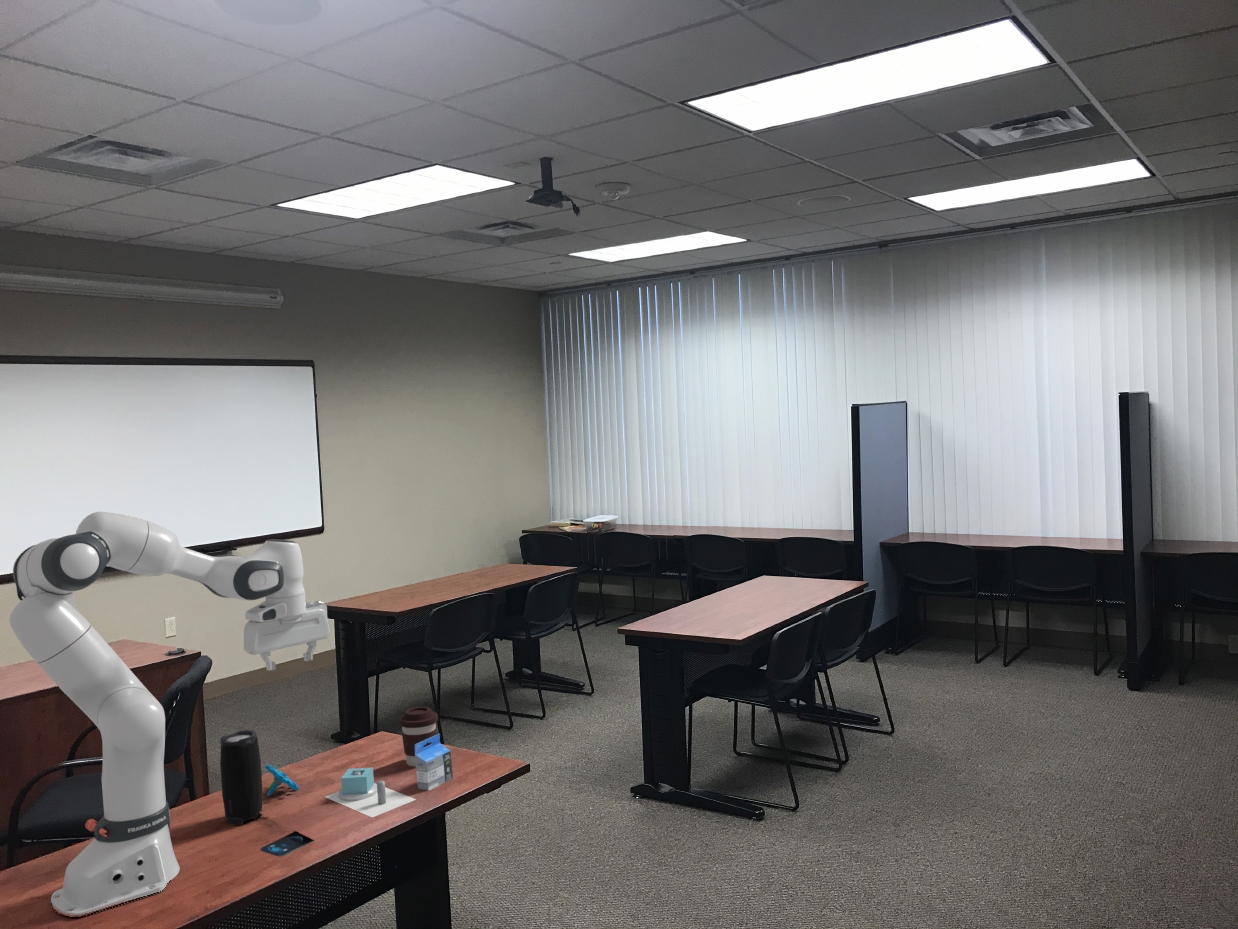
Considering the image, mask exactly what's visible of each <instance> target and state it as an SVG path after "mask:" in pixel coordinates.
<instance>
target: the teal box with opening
mask: <svg viewBox="0 0 1238 929" xmlns="http://www.w3.org/2000/svg"><path fill="white" fill-rule="evenodd" d="M357 771H360V772H361V775H353V773H354V772H357ZM374 783H375V780H374V767H357V768H347V770H346V771H345V773H344V774H343V775H342V777H341V778H340V784H341V788H342V795H349V794H367V793H368V792H369V790H370V789H371V787H372V786H373V784H374Z"/></svg>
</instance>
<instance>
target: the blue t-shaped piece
mask: <svg viewBox="0 0 1238 929" xmlns="http://www.w3.org/2000/svg"><path fill="white" fill-rule="evenodd" d="M264 769H265V770H267V772H268V773H270V774H272V776H273V781H272V782H271V783H270V785H269V786H268V789H269V790H268V791H267V793H266V794H267V795H268V796H269V797H271V796H272V795H273V793H274V792H275V790H277V788H278V787H279V786H281V785H282V784H284V785H285V784H286V785H287V786H288V787H289V788H290V789H292V790H294V791H296V792H297V791H298V790H299V788H300V786H298V785H297V783H296V782H295V781H293V780H292V779H291V778H290V777H288V775H287V773H285V772H282V771H281V770H280V769H277V768H276V767H274V766H272V765H271V764H266V765H265V767H264Z"/></svg>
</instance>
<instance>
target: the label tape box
mask: <svg viewBox="0 0 1238 929" xmlns="http://www.w3.org/2000/svg"><path fill="white" fill-rule="evenodd" d="M440 739H441V733H438V734H437V735H435V736H433V737H431V738H428V739H426V740H424V741H422V742H419V743H417V744H415V762H416V766H415V772H416V783H417V789H419V790H422V791H423V790H424V791H428V792H429V791H432V790H433V789H435V788H437V787H439V786H441V785H443V784H445V783H447V782H449V781H450V780H452V779H454V776H453V775H454V774H453V762H452V751H451V749H449V748H447V747H446V746H445V745H443V744H442V743H441V742H440V741H441V740H440ZM427 742H428V743H430V742H432V743H431V744H430V745H428V746H426V747H423V746H424V745H425V744H427Z"/></svg>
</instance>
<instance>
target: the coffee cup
mask: <svg viewBox="0 0 1238 929" xmlns="http://www.w3.org/2000/svg"><path fill="white" fill-rule="evenodd" d="M438 721H439V714H438V713H437V712H436V711H433V710H432V708H431V707H428V706H415V707H411V708H408V709H406V710H405V711H404V714H402V715H401V716H400V717H399V718H398V725H399V726H400V727H401V729H402V731H401V736H402V745H403V751H404V754H405V761H406V765H408V766H409V767H416V762H415V744H417V743H419V742H422V741H424V740H426V739H428V738H431V737H433V736H435V735H437V722H438ZM431 743H432V742H430V743H428V742H427V744H425V745H424V746H423V747H426V746H428V745H430V744H431Z"/></svg>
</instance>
